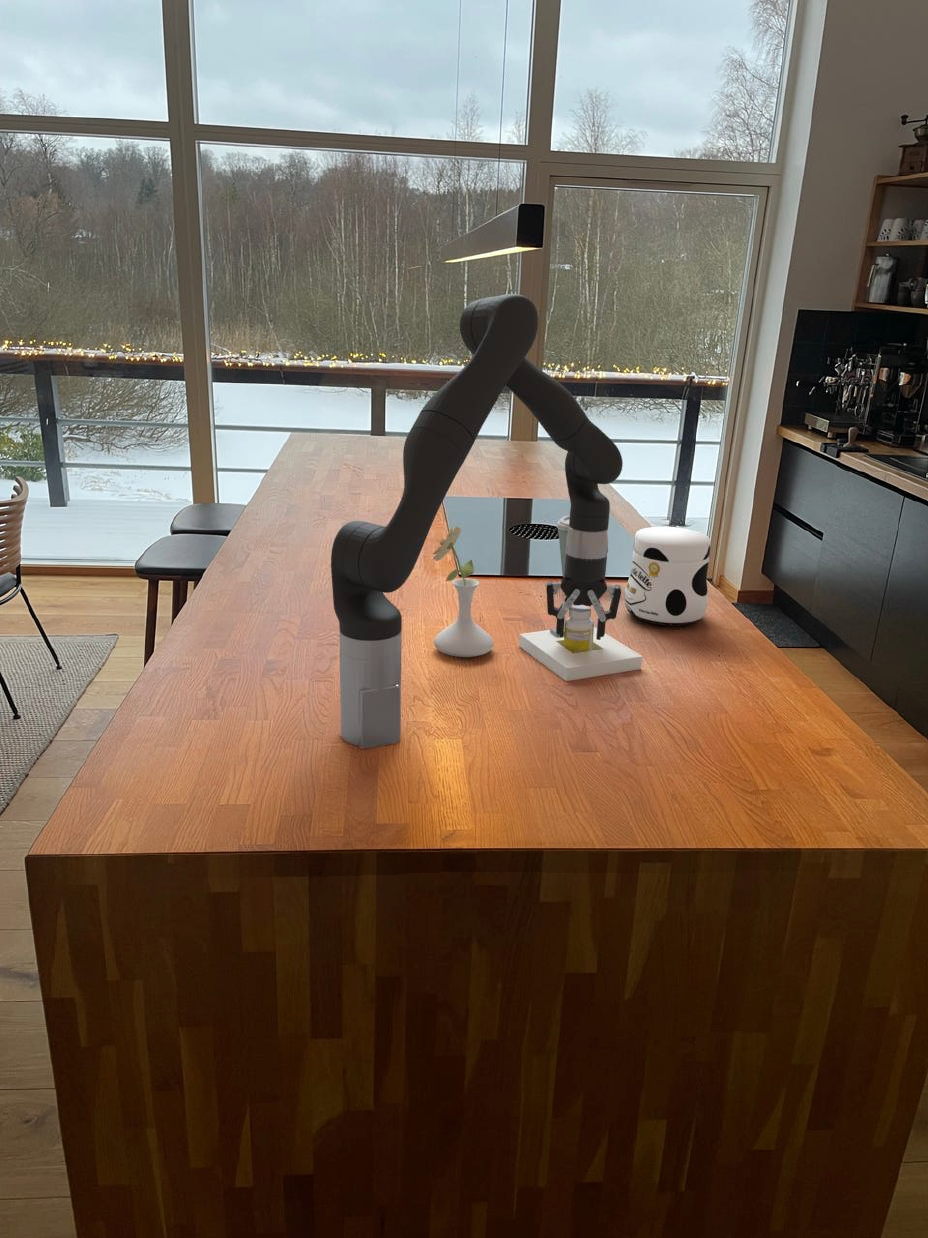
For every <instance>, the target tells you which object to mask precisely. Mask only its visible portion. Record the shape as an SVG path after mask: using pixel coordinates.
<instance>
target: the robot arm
mask: <svg viewBox="0 0 928 1238" xmlns="http://www.w3.org/2000/svg"><path fill="white" fill-rule="evenodd" d="M537 310H538V309H537V308H536V305H535V303H533V301H532V300H531V299H530V298H529V297H528V296H525V295H523V294H517V293H505V294H501V295H496V296H490V297H484V298H479V299H477V300H474V301H471V302H470V303H469V304H468V305H466V306H465V308H464V309H463V310H462V312H461V316H460V320H459V333H460V337H461V339H462V342H463V343H464V345H465V347H466V348H467V349H468V351H469V352H470V353H471V355H472V356H471V358H470V359H469V361H468V362H467V363H466V364H465V366H464V367H463V368H462V369H460V371H458V372H457V373H456V374H455V375H454V376H453V377H452V378H451V379H450V380H448V381H447V382H446V383H445V384H444V385H443V386H442V387H440V388H439V389H438V391H436V392H435V393H434V394H433V395H432V396H431V397H430V398H429V400H428V401H427V402H426V403H425V404H424V406H423V407H422V409H421V411H420V412H419V414H418V416H417V418H416V419H415V421H414V423H413V425H412V427H411V428H410V430H409V431H408V433H407V436H406V438H405V441H404V445H403V449H402V450H403V453H402V465H403V479H404V483H403V484H404V485H403V492H402V496H401V498H400V501H399V503H398V506H397V507H396V510H395V512H394V514H393V516H392V517H391V519H390V520H389V522H388V524H387V525H386V526H384V525H381V524H376V523H372V522H367V521H364V520H354V521H350V522H347V523H346V524H344V525H343V526H342V527H341V528H340V529H339V530H338V531H337V533H336V536H335V538H334V540H333V544H332V548H331V554H330V569H331V570H330V573H331V575H330V576H331V585H332V586H331V587H332V589H331V590H332V600H333V609H334V613H335V616H336V617H337V620H338V622H339V623H338V624H339V683H340V684H339V686H340V687H339V690H340V691H339V695H340V699H339V703H340V707H339V708H340V735H341V736H340V737H342V739H343V740H344V741H345V742H347V743H349V744H352V745H353V746H354V745H355V746H357V747H359V748H360V749H361V750H364V749H370V748H376V747H383V746H387V745H394V744H399V743H400V742H401V737H400V736H401V732H402V731H401V730H402V729H401V728H402V725H401V724H402V719H401V718H402V716H401V715H402V710H401V709H402V706H401V705H402V643H403V642H402V639H403V638H402V637H403V635H402V633H403V632H402V630H403V629H402V628H403V627H402V624H403V622H402V621H403V620H402V619H403V618H402V617H403V616H402V614H401V612H400V610H399V608H398V607H396V606H395V604H394V603H392V602H391V600H389V599H388V598H387V597H386V595H385V593H386V594H387V593H388V594H389V593H393V592H395V591H397V590H399V589H400V588H401V587H402V586H403V585H404V584H405V583H406V581H407V580H408V579H409V577H410V575H411V574H412V572H413V570H414V568H415V565H416V563H417V562H418V559H419V557H420V554H421V551H422V550H423V547H424V544H425V542H426V539H427V537H428V535H429V532H430V530H431V527H432V525H433V522H434V521H435V518H436V516H437V514H438V511H439V509H440V507H441V505H442V503H443V502H444V499H445V497H446V496H447V494H448V492H449V489H450V488H451V486H452V484H453V482H454V480H455V478H456V477H457V475H458V472H459V471H460V469H461V467H462V466H463V464H464V463H465V461H466V459H467V456H468V455H469V453H470V452H471V450H472V447H473V445H474V443H475V442H476V440H477V438H478V435H479V434H480V432H481V429H482V428H483V426H484V424H485V422H486V420H487V418H488V417H489V415H490V413H491V411H492V410H493V407H495V404H496V403H497V401H498V398H499V397H500V395H501V394H502V392H503V390H504V389H505V387H506V388H507V389H508V390H510V391H511V392H512V394H514V395H515V396H516V398H518V399H519V401H521V403H523V405H525V406H526V408H527V409H528V410H529V411H530V412H531V414H532V415H533V416H534V417H535V419H536V420H537V422H538V423H539V424H540V425H541V427H542V428H543V430H544V431H545V432H546V433H547V435H548V436H549V437H550V438H551V440H552V441H553V443H555V444H556V446H558V447H559V448H560V449H562V450H564V451H566V452H567V453H566V454H565V455H566V456H565V460H564V470H565V471H564V472H565V479H566V485H567V492H568V493H567V494H568V498H569V501H570V511H569V515H570V519H569V530H568V534H567V542H566V555H565V569H564V577H563V578H562V580H561V581H558V582H557V581H556V582H553V581H552V580H548V581H547V582H546V603H547V604H546V606H547V614H548V615H549V616H553V617H555V618H556V627H555V628H556V633H557V634H560V638H563V634H564V627H565V621H566V620H565V619H566V618H565V616H566V614H567V612H568V611H569V609H570V607H572V605H573V606H578V605H580V606H587V607H592V606H593V609H594V611H595V613H596V615H597V616H598V617H597V622H596V623H597V624H596V628H597V633H596V639H597V640H600V639H601V637H604V635H605V634H606V632H605V631H606V623H607V621H608V620H615V619H616V618H617V613H618V609H619V604H620V601H621V595H622V589H621V585H619V584H615V585H609V584H607V582H606V572H607V561H608V553H609V523H610V511H611V510H610V508H611V502H610V500H609V499H608V497H607V496H606V495H605V494H603V493H602V492H601V491H600V489H599V485H608V484H610V483H611V484H612V483H613V482H615V481H616V480H617V479H618V478H619V477H620V475H621V473H622V471H623V465H624V463H623V456H622V454H621V451H620V450H619V448H618V446H617V445H616V443H615V442H614V441H613V440H612V439H611V438H610V437H609V436H608V435H607V434H606V433H604V432H603V431H602V429H600V428H599V427H598V426H597V425H596V424H594V423H593V422H592V421H591V420H590V419H589V418H588V415H587V414H586V412H585V411H584V409H583V408H582V407H581V405H580V404H579V402H578V401H577V400H576V399H575V397H574V396H573V394H572V393H571V392H570V391H569V390H568V389H567V388H566V387H565V386H564V385H563V384H561V383H560V382H559V381H557V380H556V379H554V378H553V377H551V376H550V375H549V374H548V373H546V372H545V371H543V370H541V369H540V368H539V367H538V366H537V365H536V364H534V363H532V361H530V360H529V358H527V357H526V356H527V355H528V354H529V352H530V350H531V349H532V346H533V345H534V342H535V340H536V338H537V334H538V329H539V315H538V314H539V313H538V311H537ZM559 589H561V591H562V592H563V594H564V595H565V597H564V598H563V599H562V603H561V604H560V606H559V607H555V597H554V595H557V594H558V591H559ZM606 592H607V593H608V596H609V598H610V599H611V601H610V606H609V610H605V609H604V607H603V605H602V603H601V600H600V599H601V598H602V597H603V596H604V594H605V593H606Z"/></svg>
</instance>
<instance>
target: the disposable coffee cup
mask: <svg viewBox="0 0 928 1238" xmlns="http://www.w3.org/2000/svg"><path fill="white" fill-rule="evenodd" d="M569 519H570V514H569V515H564V516H563V517H561V518H559V520H557V523H556V528H557V530H558V540H559V542H558V543H559V552H560V562H561V572H562V577H563V578H564V569H565V555H566V542H567V534H568V530H569Z"/></svg>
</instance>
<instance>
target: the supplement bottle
mask: <svg viewBox="0 0 928 1238" xmlns="http://www.w3.org/2000/svg"><path fill="white" fill-rule="evenodd" d="M568 611H569V612H568V616H569V617H568V618H567V619H566V620H565V621H564V627H565V633H564V647H565V648H566V649H568V650H569V651H571V652H572V653H579V652H586V651H592V650H593V633H594V627H595V623H594V621H593V620H592V618H591V615H592V608H590V606H585V605H573V606H571V607H570V609H569V610H568Z"/></svg>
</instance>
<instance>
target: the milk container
mask: <svg viewBox="0 0 928 1238" xmlns="http://www.w3.org/2000/svg"><path fill="white" fill-rule="evenodd" d="M710 553H711V540H710V537H709V536H708V535H706V534H704V533H703V532H701V531H700V532H699V531H697V530H694V529H687V528H682V527H673V526H653V527H645V528H641V529H638V531H636V532H635V536H634V541H633V551H632V560H631V572H630V575H629V578H628V581H627V582H626V586H625V591H624V605H625V608H626V610H627V612H628V613H629V614H630V615H632V616H633V617H634V618H636V619H637V620H641V621H642V622H646V623H651V624H653V625H661V626H677V627H678V626H686V625H691V624H694V623H696V622H699V621H700V620H701V619H702V618H703V617H704V616H705V613H706V611H707V609H708V604H709V590H708V582H707V576H708V568H709V562H710Z"/></svg>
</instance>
